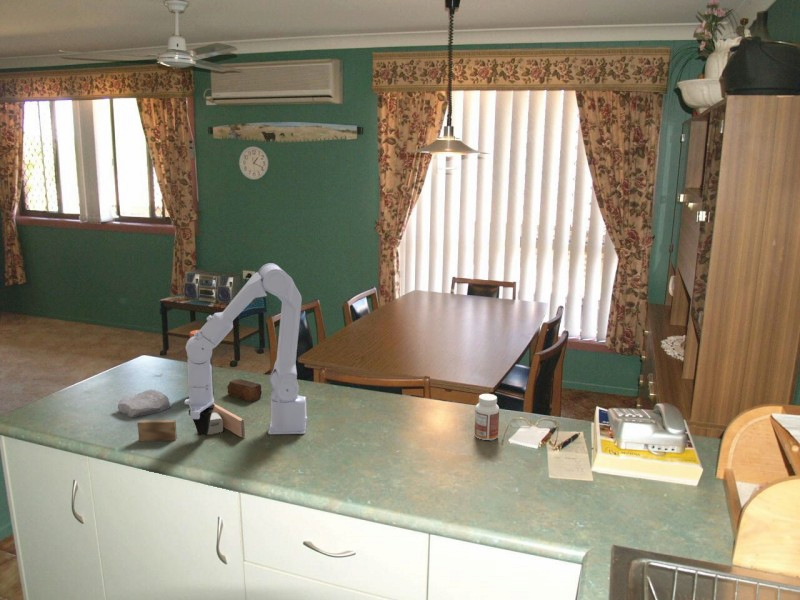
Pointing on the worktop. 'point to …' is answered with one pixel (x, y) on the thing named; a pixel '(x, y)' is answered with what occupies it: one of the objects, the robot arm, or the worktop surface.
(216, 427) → the usb wall charger
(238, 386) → the brick
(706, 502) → the worktop surface
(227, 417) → the light wood thin slab
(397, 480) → the worktop surface
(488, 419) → the pill bottle
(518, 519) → the worktop surface
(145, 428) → the brown wooden board
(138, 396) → the stone block
